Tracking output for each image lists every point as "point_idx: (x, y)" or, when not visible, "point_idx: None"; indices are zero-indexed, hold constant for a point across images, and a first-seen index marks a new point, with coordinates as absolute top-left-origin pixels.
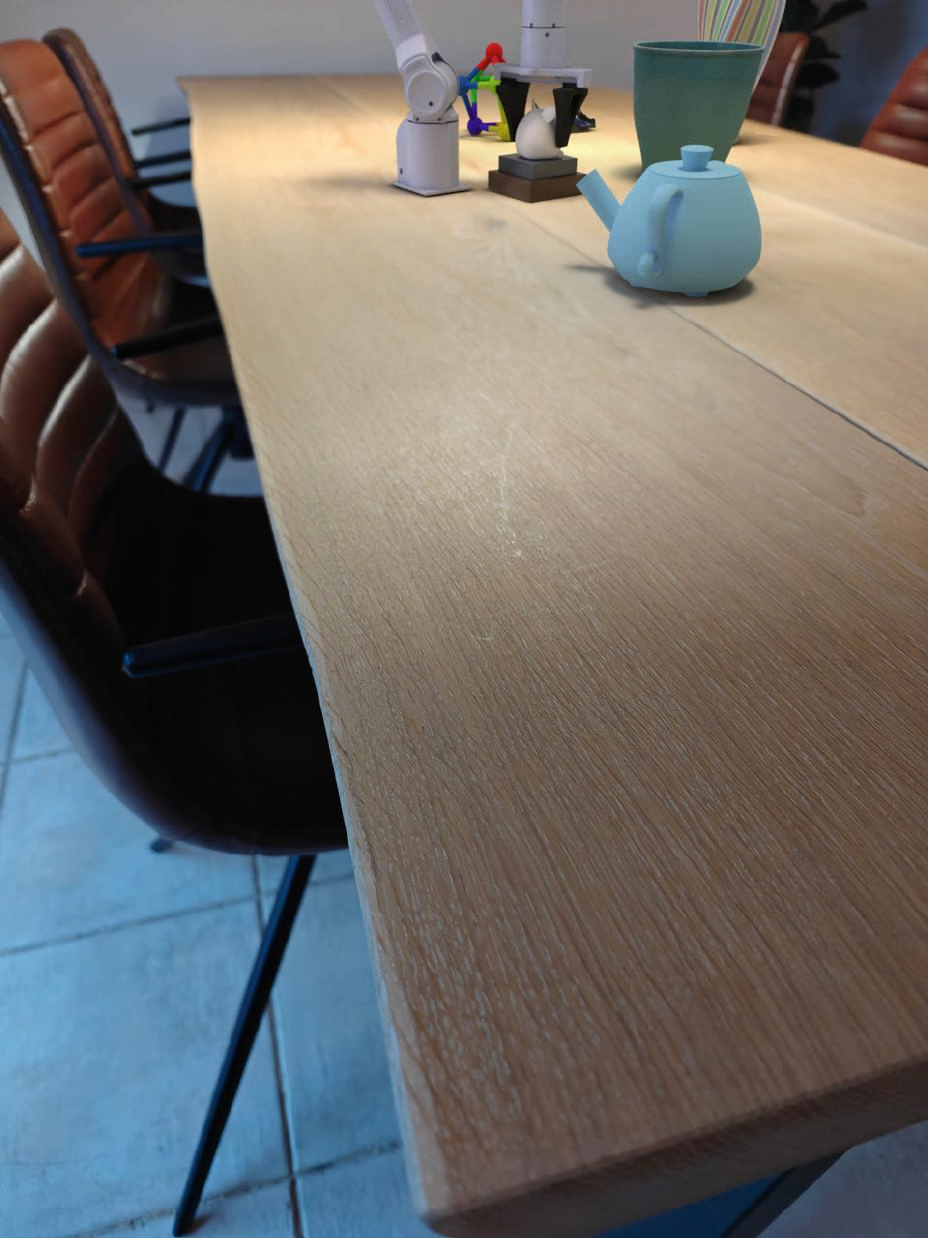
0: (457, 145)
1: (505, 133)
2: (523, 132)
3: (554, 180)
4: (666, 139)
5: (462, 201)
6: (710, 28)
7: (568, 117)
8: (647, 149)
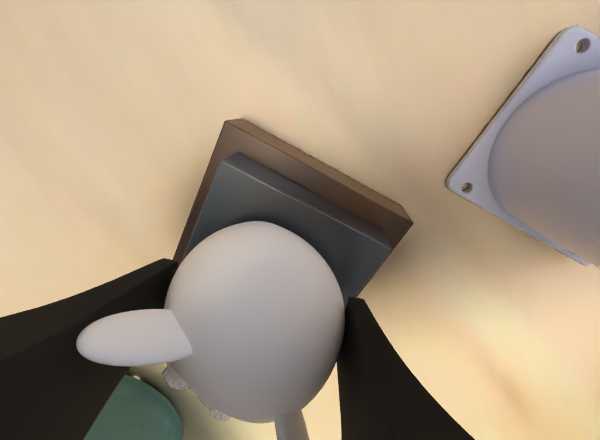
0: (570, 197)
1: None
2: (278, 264)
3: (197, 195)
4: None
5: (423, 36)
6: None
7: None
8: (113, 426)
